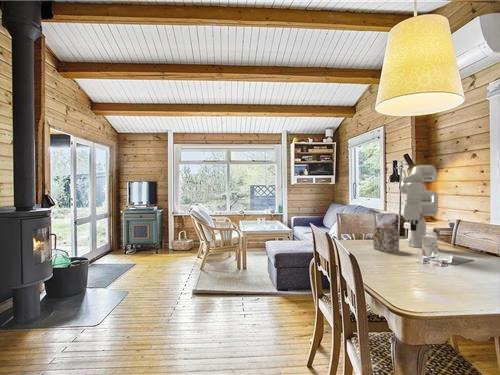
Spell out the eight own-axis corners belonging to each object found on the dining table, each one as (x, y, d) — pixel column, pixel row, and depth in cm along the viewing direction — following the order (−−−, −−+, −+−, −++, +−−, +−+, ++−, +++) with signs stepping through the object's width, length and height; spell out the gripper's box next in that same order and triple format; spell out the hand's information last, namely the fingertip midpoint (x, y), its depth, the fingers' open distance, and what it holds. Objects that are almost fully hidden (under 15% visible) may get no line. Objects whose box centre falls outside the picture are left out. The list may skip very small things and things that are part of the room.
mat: (428, 259, 168) (428, 258, 168) (447, 255, 178) (447, 254, 178) (454, 265, 156) (454, 264, 156) (474, 260, 165) (474, 259, 165)
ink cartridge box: (421, 254, 182) (421, 230, 182) (429, 254, 182) (429, 230, 182) (429, 257, 173) (429, 233, 173) (438, 257, 173) (437, 232, 173)
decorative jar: (385, 247, 204) (385, 221, 204) (399, 250, 194) (399, 223, 194) (372, 249, 199) (372, 222, 199) (386, 252, 189) (386, 224, 189)
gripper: (398, 201, 191) (399, 229, 191) (421, 202, 178) (421, 232, 178) (406, 201, 195) (406, 229, 194) (428, 202, 181) (428, 231, 181)
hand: (413, 230), depth 186 cm, fingers closed
